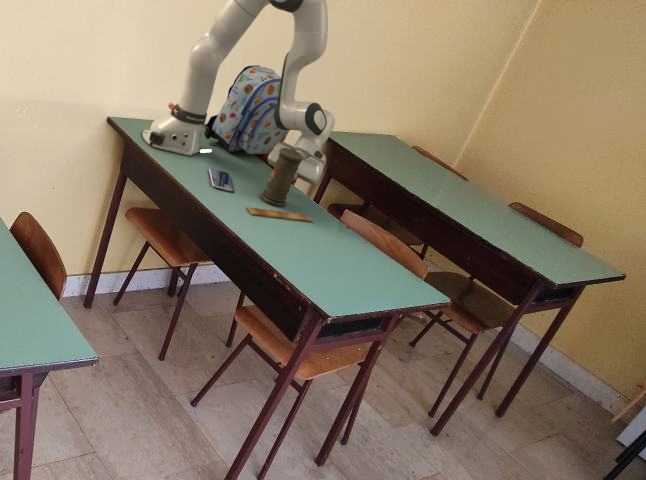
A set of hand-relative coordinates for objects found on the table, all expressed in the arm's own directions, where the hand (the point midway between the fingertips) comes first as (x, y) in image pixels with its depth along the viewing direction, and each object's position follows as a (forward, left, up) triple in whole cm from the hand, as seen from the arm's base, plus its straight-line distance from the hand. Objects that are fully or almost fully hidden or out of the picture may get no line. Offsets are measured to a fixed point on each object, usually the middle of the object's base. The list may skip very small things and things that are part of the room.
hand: (284, 182), depth 217 cm
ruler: (-6, -14, -6) cm, 16 cm away
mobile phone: (-21, +7, -6) cm, 23 cm away
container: (-4, -3, -6) cm, 8 cm away
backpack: (+3, +42, -6) cm, 43 cm away
